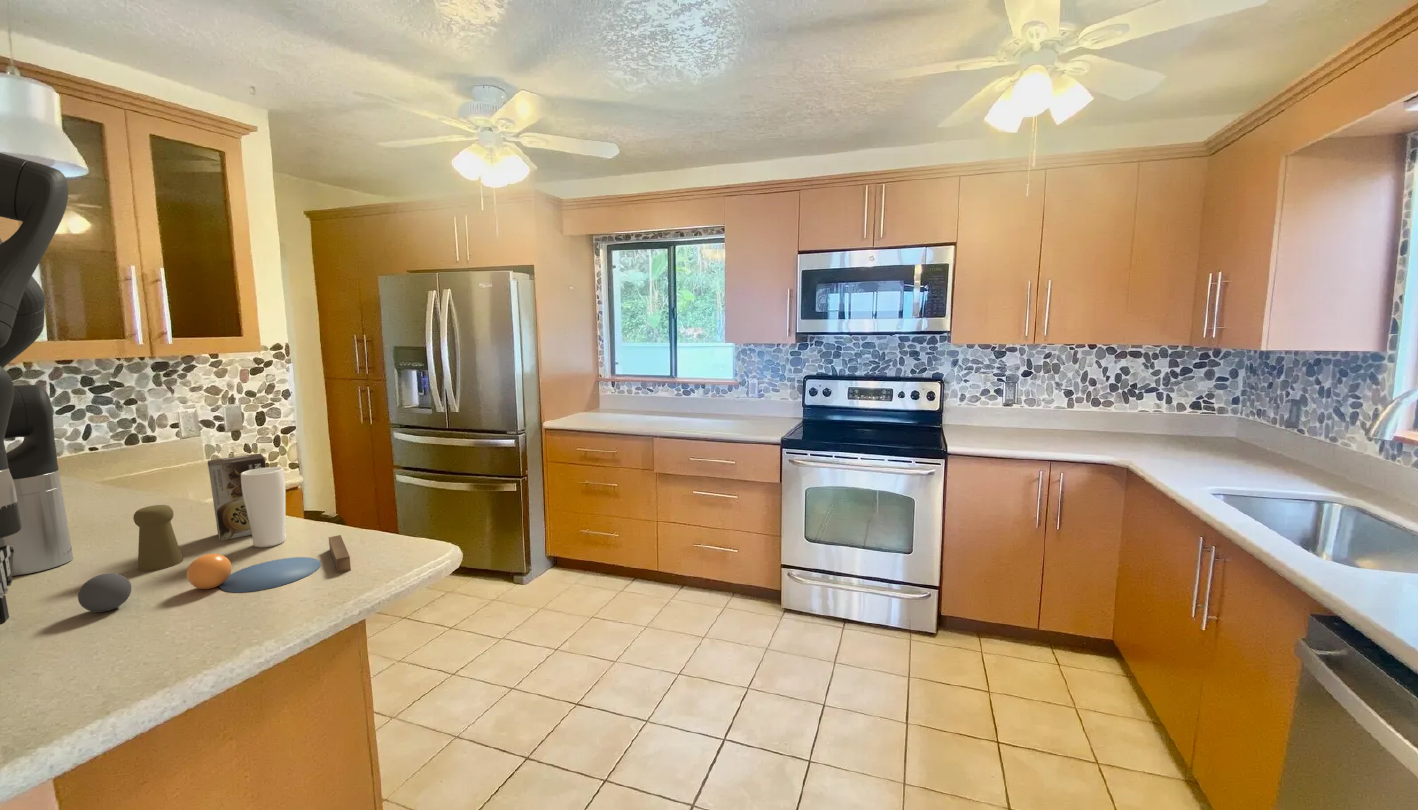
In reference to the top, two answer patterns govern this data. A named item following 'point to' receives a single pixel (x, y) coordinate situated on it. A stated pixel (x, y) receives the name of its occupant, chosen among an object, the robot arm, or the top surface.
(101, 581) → the gray ball
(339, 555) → the brown bar
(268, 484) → the drinking glass
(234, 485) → the coffee box
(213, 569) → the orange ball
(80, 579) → the top surface
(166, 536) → the cork
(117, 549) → the top surface
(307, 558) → the blue flat round disc
